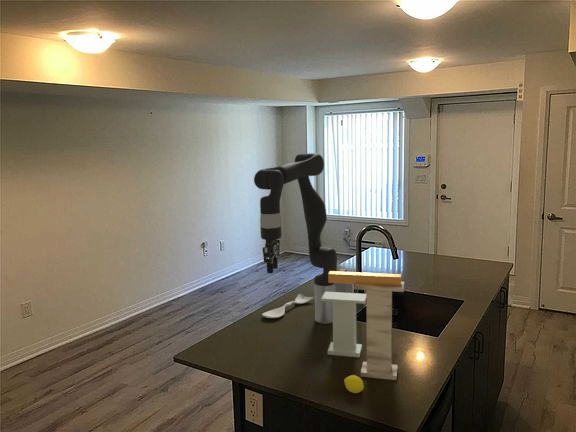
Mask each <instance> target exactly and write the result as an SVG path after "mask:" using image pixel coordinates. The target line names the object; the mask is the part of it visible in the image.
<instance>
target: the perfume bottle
mask: <svg viewBox="0 0 576 432" xmlns="http://www.w3.org/2000/svg"><path fill="white" fill-rule="evenodd" d="M337 271H339V272H348V269H346V268H339V269H338V270H337ZM335 292H342V293H353V284H343V283H335Z"/></svg>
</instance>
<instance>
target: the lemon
mask: <svg viewBox="0 0 576 432" xmlns="http://www.w3.org/2000/svg"><path fill="white" fill-rule="evenodd" d="M343 381H344V385H345V388H346V390H347V392H348V391H349V392H350V393H352V394H359V393H360V392H362V391H363V390H364V381H363V380H362V377H360V376H357V375H356V374H352V375H349V376H347V377H345V378H344V380H343Z"/></svg>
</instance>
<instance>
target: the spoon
mask: <svg viewBox="0 0 576 432" xmlns="http://www.w3.org/2000/svg"><path fill="white" fill-rule="evenodd" d="M313 299H315V295H314V296H308V297H307V296H305V295H303V294H301V293H299V294H298V295H297V296H296V298H295V299H294V300H292V301H289V302H286V303H285V302H284V303H285V304H284V305H282V306H280V307H277V308H274V309H271V310H268V311H265V312H263V313H262V314H261V316H263V318H266V319H278V318H280V317H282V316H284V315H285V313H286V312H285V311H286V309H285V308H286V307H289V306H292V305H293V304H297V305H302V304H306V303H308V302H309V301H312V300H313Z"/></svg>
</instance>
